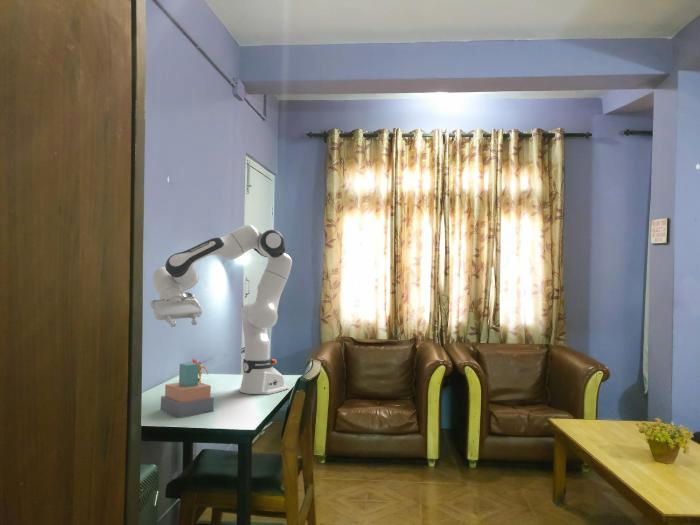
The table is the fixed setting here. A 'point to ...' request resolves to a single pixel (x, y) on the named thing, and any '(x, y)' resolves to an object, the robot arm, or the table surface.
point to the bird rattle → (196, 363)
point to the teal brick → (188, 374)
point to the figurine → (200, 370)
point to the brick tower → (187, 399)
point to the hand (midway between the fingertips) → (184, 325)
